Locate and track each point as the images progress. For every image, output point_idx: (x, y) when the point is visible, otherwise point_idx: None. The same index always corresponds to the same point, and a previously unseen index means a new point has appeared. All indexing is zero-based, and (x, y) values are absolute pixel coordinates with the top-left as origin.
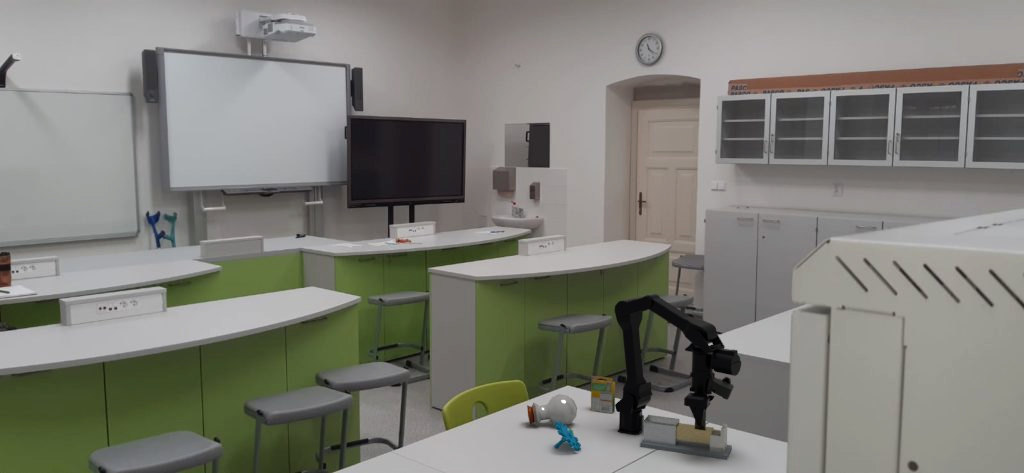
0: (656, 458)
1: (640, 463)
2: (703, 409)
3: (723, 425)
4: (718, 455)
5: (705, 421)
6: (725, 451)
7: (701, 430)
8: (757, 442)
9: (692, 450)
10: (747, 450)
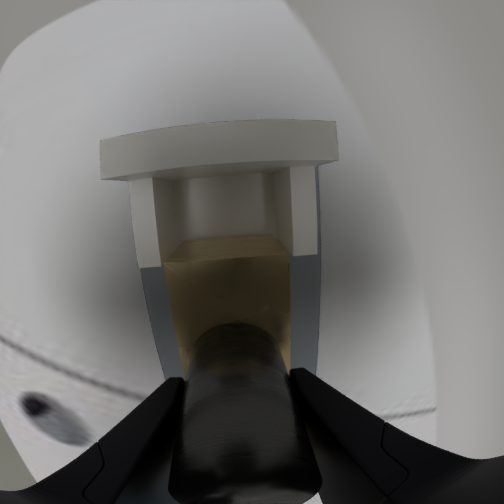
0: (391, 387)
1: (430, 395)
2: (468, 465)
3: (168, 161)
4: (316, 176)
5: (248, 363)
6: None
7: (289, 338)
8: (26, 89)
9: (313, 314)
10: (125, 78)
